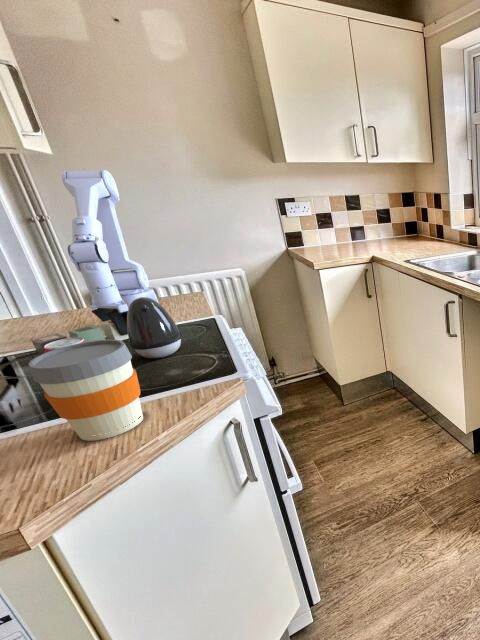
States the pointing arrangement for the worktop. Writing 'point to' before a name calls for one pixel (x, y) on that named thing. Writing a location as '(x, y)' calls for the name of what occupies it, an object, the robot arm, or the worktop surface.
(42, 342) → the block
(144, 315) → the black egg shaped device
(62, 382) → the reusable coffee cup
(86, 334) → the block
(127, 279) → the robot arm
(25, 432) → the worktop surface
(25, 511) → the worktop surface
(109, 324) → the block
